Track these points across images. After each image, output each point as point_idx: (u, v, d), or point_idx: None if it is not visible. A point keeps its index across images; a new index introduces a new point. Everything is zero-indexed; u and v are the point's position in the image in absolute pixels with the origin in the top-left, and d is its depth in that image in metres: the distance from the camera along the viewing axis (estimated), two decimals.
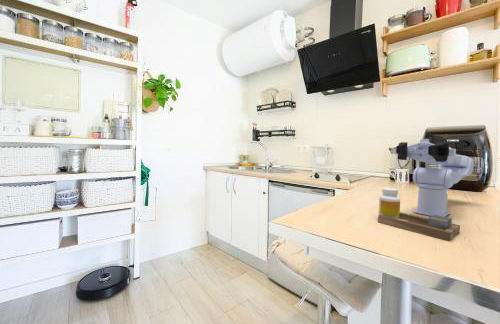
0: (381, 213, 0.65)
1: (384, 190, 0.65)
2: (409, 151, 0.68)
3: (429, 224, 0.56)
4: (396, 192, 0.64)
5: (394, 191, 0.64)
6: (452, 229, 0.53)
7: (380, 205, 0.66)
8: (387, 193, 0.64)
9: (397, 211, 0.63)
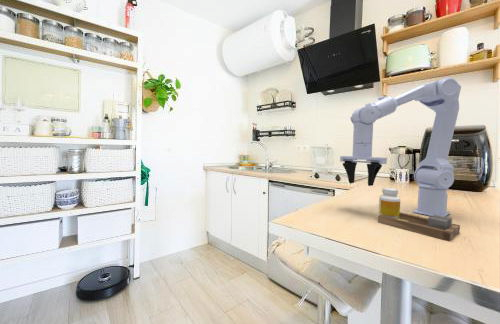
0: (381, 213, 0.65)
1: (384, 190, 0.65)
2: None
3: (429, 224, 0.56)
4: (396, 192, 0.64)
5: (394, 191, 0.64)
6: (452, 229, 0.53)
7: (380, 205, 0.66)
8: (387, 193, 0.64)
9: (397, 211, 0.63)
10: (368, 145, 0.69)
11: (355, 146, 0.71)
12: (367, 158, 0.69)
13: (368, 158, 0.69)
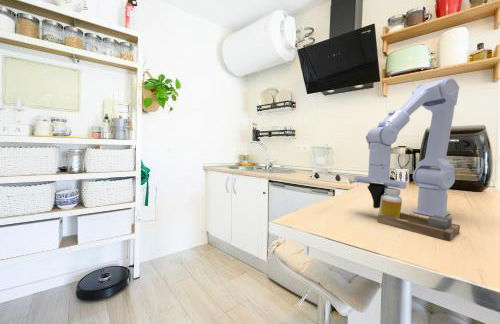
0: (382, 213, 0.65)
1: (386, 190, 0.65)
2: None
3: (429, 224, 0.56)
4: (398, 192, 0.63)
5: (396, 191, 0.63)
6: (452, 229, 0.53)
7: (381, 205, 0.66)
8: (389, 193, 0.64)
9: (398, 211, 0.63)
10: (386, 167, 0.65)
11: (371, 168, 0.67)
12: (385, 181, 0.65)
13: (386, 182, 0.64)
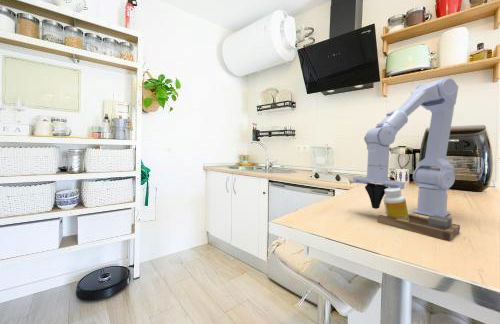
0: (389, 216, 0.63)
1: (386, 192, 0.63)
2: None
3: (429, 224, 0.56)
4: (399, 192, 0.61)
5: (397, 191, 0.61)
6: (452, 229, 0.53)
7: (386, 207, 0.64)
8: (390, 195, 0.62)
9: (405, 211, 0.61)
10: (384, 168, 0.66)
11: (370, 168, 0.67)
12: (383, 182, 0.65)
13: (384, 182, 0.65)
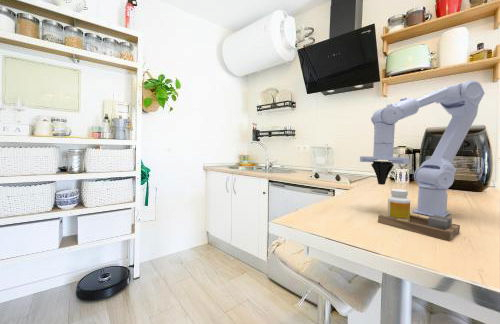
0: (391, 215, 0.63)
1: (393, 191, 0.63)
2: None
3: (429, 224, 0.56)
4: (406, 193, 0.62)
5: (404, 192, 0.61)
6: (452, 229, 0.53)
7: (389, 207, 0.64)
8: (397, 194, 0.62)
9: (408, 213, 0.61)
10: (390, 145, 0.70)
11: (376, 146, 0.71)
12: (389, 158, 0.69)
13: (390, 158, 0.69)
